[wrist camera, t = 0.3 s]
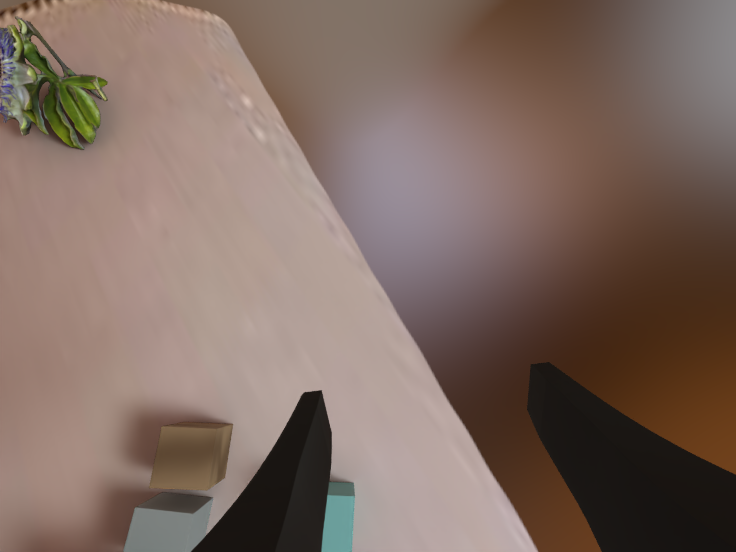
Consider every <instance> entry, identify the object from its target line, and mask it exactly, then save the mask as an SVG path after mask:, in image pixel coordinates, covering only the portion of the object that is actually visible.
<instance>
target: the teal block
mask: <svg viewBox="0 0 736 552" xmlns="http://www.w3.org/2000/svg"><path fill="white" fill-rule="evenodd" d="M354 501H355V493H354V483H344V482H329V488H328V496H327V504H326V513H325V521H324V529H323V540H322V552H352V539H353V520H354Z"/></svg>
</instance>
